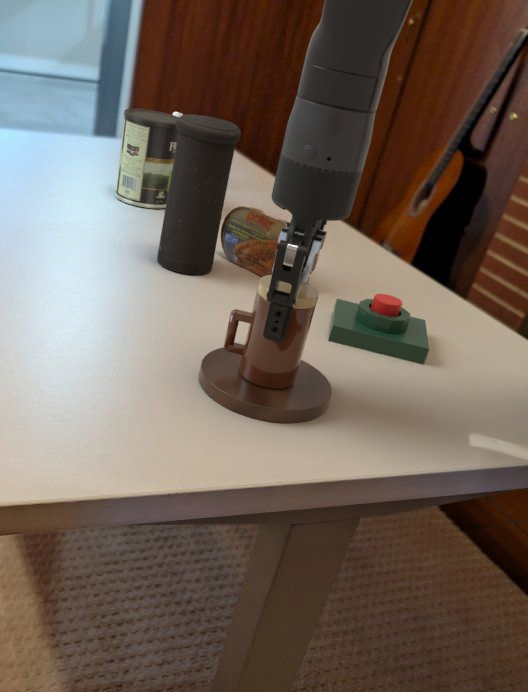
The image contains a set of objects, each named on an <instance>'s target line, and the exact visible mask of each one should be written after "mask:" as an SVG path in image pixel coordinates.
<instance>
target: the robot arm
mask: <svg viewBox="0 0 528 692" xmlns="http://www.w3.org/2000/svg"><path fill="white" fill-rule="evenodd" d="M413 1H414V0H324V3H323V7H322V12H321V18H320V20H319V23H318V24H317V26H316V28H315V29H314V30H313V32H312V35H311V37H310V40H309V43H308V46H307V49H306V53H305V57H304V61H303V62H304V63H303V68H302V71H301V74H300V75H301V76H300V80H299V83H298V84H299V85H298V88H297V93H296V96H295V101H294V103H293V107H292V109H291V112H290V115H289V118H288V121H287V124H286V129H285V133H284V137H283V142H282V146H281V151H280V155H279V159H278V165H277V169H276V174H275V179H274V183H273V187H272V190H271V191H272V192H271V200H272V202H273V204H274V205H276V207H278V208H279V209H282V210H283V211H285V210H286V211H288V212H289V213H290V214H291V219H290V221H288V222H287V223H286V226H285V228H282V229H281V232H280V235H279V239H278V245H277V249H278V250H277V254H276V259H275V262H274V265H273V269H272V277H271V282H270V287H269V291H268V292H267V295H266V297H267V301H268V302H270V307H269V311H268V315H267V319H266V323H265V327H264V332H263V336H264V338H266V339H268V340H272V341H275V342H279V343H282V342H284V340H285V338H286V336H287V332H288V328H289V324H290V320H291V316H292V312H293V309H294V307H295V305H297V302H298V300H297V297H298V294H299V291H300V287H301V286H302V285H305V284H307V282H308V283H310V280H311V274H312V273H313V272H314V270H315V269H316V267H317V264H318V260H319V257H320V253H321V250H322V249H323V247H324V244H325V242H326V238H327V233H328V231H326V230H324V229H325V226H327V223H328V222H335V221H336V222H337V221H342V220H343V221H344V220H345V219H348V218H349V217H350V215H351V214H352V211H353V207H354V203H355V200H356V196H357V193H358V189H359V185H360V182H361V179H362V175H363V172H364V167H365V165H366V161H367V158H368V157H367V156H368V153H369V150H370V146H371V143H372V139H373V132H374V124H375V119H376V114H377V110H378V107H379V103H380V100H381V96H382V93H383V89H384V85H385V82H386V78H387V74H388V70H389V67H390V66H389V65H390V60H391V56H392V53H393V50H394V47H395V44H396V42H397V40H398V37H399V35H400V33H401V31H402V28H403V27H404V23H405V22H406V19H407V16H408V14H409V11H410V9H411V6H412V4H413ZM281 281H282V282H286V283H289V284H291V286H292V287H291V291H290V293H286V292H283V291H279V290H278V289H279V286H280V282H281Z"/></svg>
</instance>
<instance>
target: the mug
mask: <svg viewBox="0 0 528 692" xmlns="http://www.w3.org/2000/svg"><path fill="white" fill-rule="evenodd" d="M271 277H272V275H266V276H263V277H261V276H260V278H259V281H258V285H257V288H256V293H255V299H254V301H253V305H252V306H253V307H252V311H251V312H249V311H245V310H241V309H239V308H237V309H232V310H231V312H230V315H229V319H228V324H227V327H226V332H225V337H224V342H223V347H224V349H225V350H226V351H228V352H232V353H236V354H240V355H242V358H241V362H240V367H239V372H240V374H241V375H242V376H243V377H244V378H245V379H246V380H248V381H250V382H252V383H254V384H256V385H259V386H262V387H266V388H273V389H282V388H287V387H290V386H292V385H293V384H294V382H295V379H296V375H297V372H298V368H299V365H300V361H301V360H302V357H303V353H304V350H305V346H306V343H307V340H308V335H309V332H310V328H311V325H312V321H313V317H314V314H315V311H316V307H317V304H318V300H319V296H320V290H319V289H318V288H317V287H316V286H314V285H313V284H312V283H310V282H307V284H305V285H302V286H301V287H300V291H299V294H298V297H297V300H298V302H297V305H295V307H294V309H293V312H292V316H291V320H290V324H289V328H288V332H287V336H286V338H285V340H284V342H282V343H279V342H275V341H272V340H268V339H266V338H264V336H263V332H264V327H265V323H266V319H267V315H268V311H269V307H270V302H268V301H267V297H266V295H267V292H268V291H269V287H270V282H271ZM291 287H292V286H291V284H289V283H286V282H282V281H281V282H280V286H279V289H278V290H279V291H283V292H286V293H290V291H291ZM239 322H243V323H247V324H248V328H247V331H246V336H245V341H244V343H239V342H235V341H236V337H237V331H238V327H239Z"/></svg>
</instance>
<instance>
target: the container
mask: <svg viewBox="0 0 528 692" xmlns="http://www.w3.org/2000/svg"><path fill="white" fill-rule="evenodd" d="M176 128H177V131H178V132H179V133H178V139H177V145H176V151H175V157H174V163H173V169H172V174H171V180H170V185H169V191H168V197H167V203H166V208H164V215H163V221H162V226H161V233H160V238H159V244H158V250H157V258H156V259H157V263H158V264H159V265H161V266H162V267H164V268H165V269H167V270H170V271H173V272H175V273H180V274H186V275H205V274H208V273H210V272H211V271H212V269H213V266H214V261H215V256H216V255H215V254H216V249H217V243H218V237H219V231H220V226H221V220H222V215H223V211H224V204H225V200H226V194H227V189H228V185H229V180H230V173H231V168H232V164H233V160H234V155H235V149H236V145H237V144H238V142H239V141H240V140H241V137H242V132H241V131H242V130H240V128H239V126H238V125H237V124H235V123H233V122H231V121H228V120H225V119H222V118H217V117H213V116H208V115H202V114H201V115H200V114H189V113H188V114H183V115H182V116H181V117H179V118H177V120H176Z"/></svg>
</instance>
